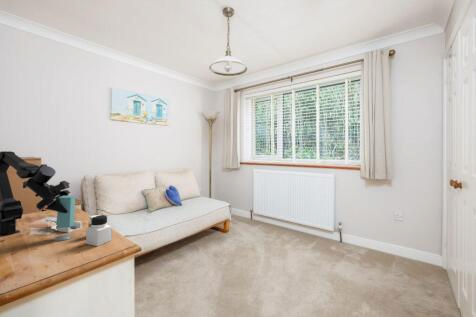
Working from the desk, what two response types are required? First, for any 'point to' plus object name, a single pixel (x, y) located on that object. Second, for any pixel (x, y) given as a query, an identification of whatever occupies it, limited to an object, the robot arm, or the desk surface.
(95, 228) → the medicine bottle
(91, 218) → the supplement bottle
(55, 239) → the coaster
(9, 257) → the desk surface
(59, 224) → the teal box
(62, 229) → the white channel beam
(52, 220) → the cover
